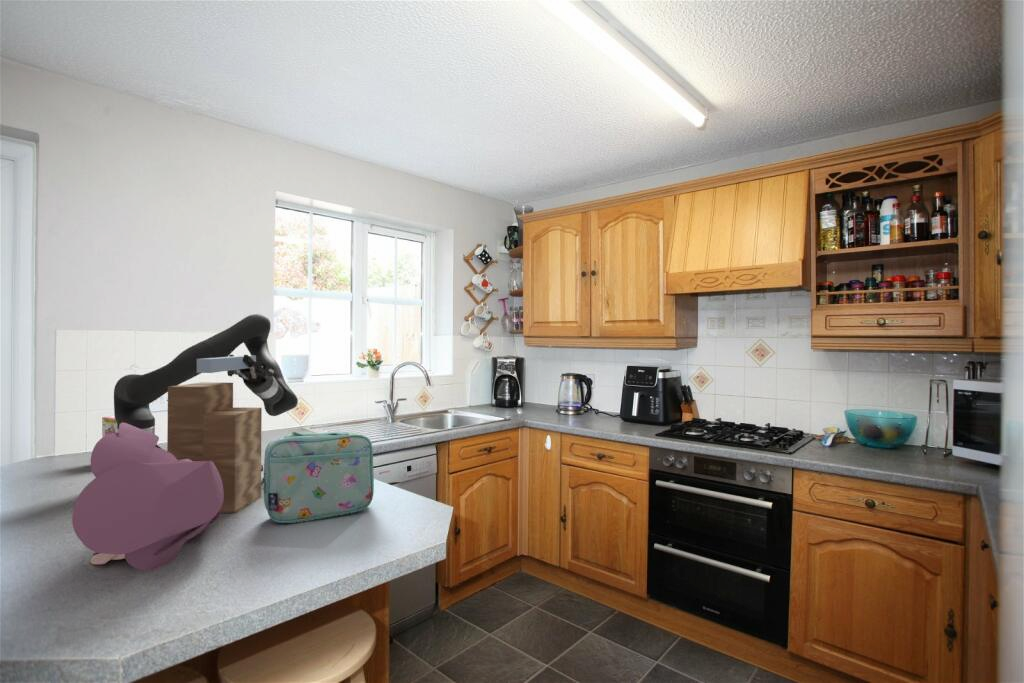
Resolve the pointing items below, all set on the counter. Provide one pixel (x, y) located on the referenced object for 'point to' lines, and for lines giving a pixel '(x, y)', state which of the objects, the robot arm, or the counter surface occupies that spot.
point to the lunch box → (317, 476)
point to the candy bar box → (109, 425)
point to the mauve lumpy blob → (144, 500)
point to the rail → (221, 364)
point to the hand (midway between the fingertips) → (237, 357)
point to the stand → (217, 438)
